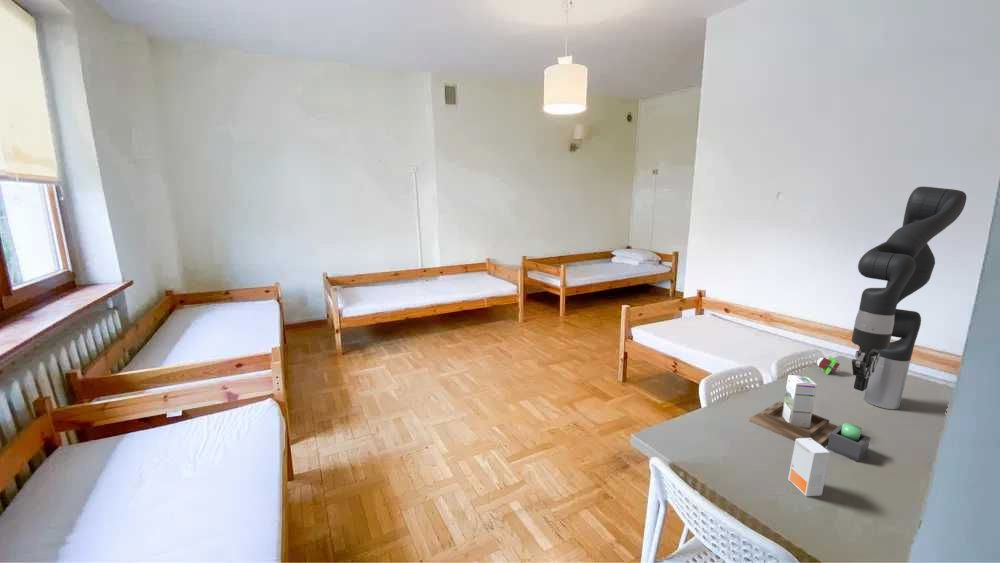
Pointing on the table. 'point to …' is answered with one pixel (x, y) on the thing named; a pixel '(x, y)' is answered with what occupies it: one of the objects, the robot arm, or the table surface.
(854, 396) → the table surface
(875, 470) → the table surface
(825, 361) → the geometric puzzle
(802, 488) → the skincare box
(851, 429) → the button
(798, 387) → the syrup box
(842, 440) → the button housing
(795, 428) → the brown wooden square tray
